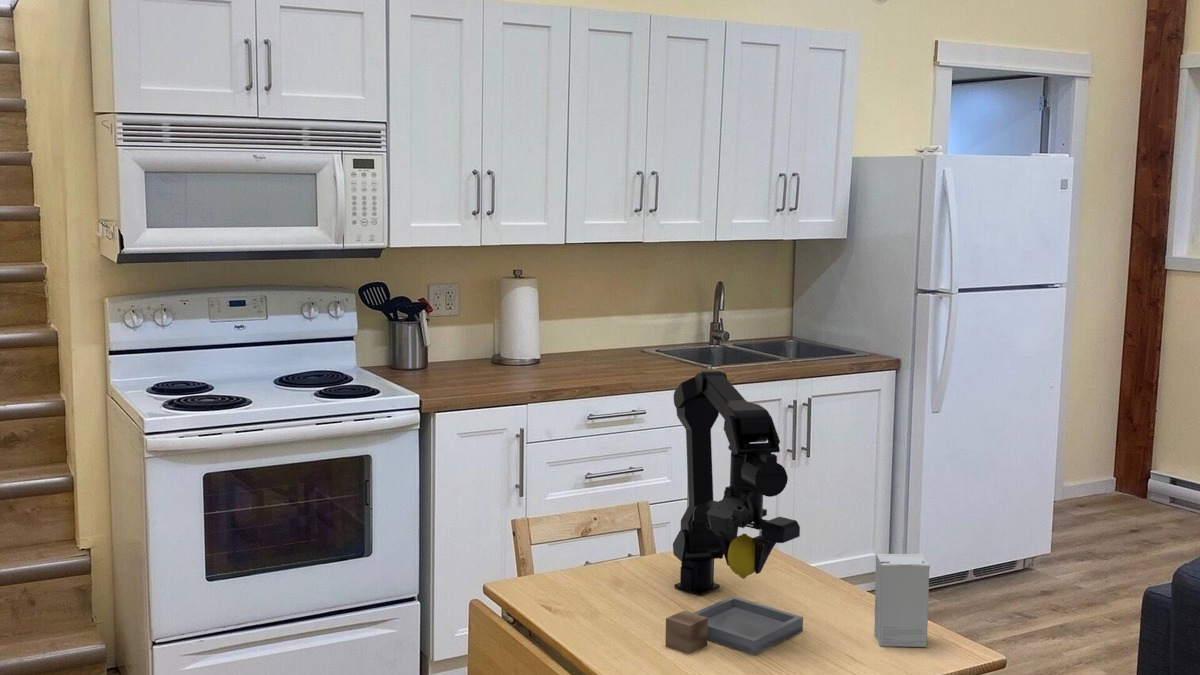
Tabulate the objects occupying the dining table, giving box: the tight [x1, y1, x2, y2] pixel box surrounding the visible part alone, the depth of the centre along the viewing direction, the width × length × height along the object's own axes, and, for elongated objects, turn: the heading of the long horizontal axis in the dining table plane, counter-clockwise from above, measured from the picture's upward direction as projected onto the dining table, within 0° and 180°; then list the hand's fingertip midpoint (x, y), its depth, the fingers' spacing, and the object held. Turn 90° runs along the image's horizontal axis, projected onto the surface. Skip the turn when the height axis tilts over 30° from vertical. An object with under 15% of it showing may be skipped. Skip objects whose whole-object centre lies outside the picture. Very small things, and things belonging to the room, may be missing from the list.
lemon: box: [728, 533, 755, 579], centre depth 204 cm, size 6×6×8 cm
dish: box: [693, 595, 804, 656], centre depth 206 cm, size 15×15×2 cm
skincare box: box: [873, 553, 931, 648], centre depth 202 cm, size 8×6×15 cm
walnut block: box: [665, 610, 708, 655], centre depth 199 cm, size 5×5×5 cm
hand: (743, 569), depth 205 cm, fingers closed on lemon, 5 cm apart
